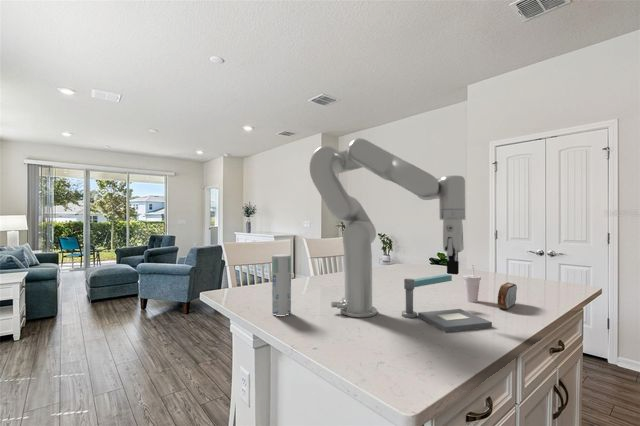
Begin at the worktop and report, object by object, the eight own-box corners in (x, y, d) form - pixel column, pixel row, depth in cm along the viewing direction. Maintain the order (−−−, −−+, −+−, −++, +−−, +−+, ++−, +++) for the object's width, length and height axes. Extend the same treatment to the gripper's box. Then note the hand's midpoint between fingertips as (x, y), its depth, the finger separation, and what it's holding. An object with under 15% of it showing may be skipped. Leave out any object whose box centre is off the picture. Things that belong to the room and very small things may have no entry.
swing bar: (409, 290, 102) (409, 281, 102) (402, 288, 105) (402, 279, 105) (452, 282, 114) (452, 274, 114) (445, 280, 117) (444, 272, 117)
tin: (509, 302, 120) (508, 280, 120) (518, 303, 118) (518, 281, 118) (496, 310, 110) (496, 286, 110) (506, 312, 108) (506, 287, 108)
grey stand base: (431, 333, 88) (431, 302, 88) (399, 314, 106) (398, 287, 106) (491, 327, 93) (491, 297, 93) (451, 309, 111) (451, 284, 111)
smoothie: (484, 303, 119) (484, 266, 119) (467, 303, 119) (467, 266, 119) (476, 298, 125) (476, 263, 125) (460, 298, 125) (459, 263, 125)
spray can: (293, 315, 104) (292, 255, 105) (273, 317, 103) (273, 256, 103) (289, 310, 111) (289, 253, 111) (270, 312, 109) (270, 254, 109)
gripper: (462, 215, 90) (463, 279, 90) (467, 215, 103) (468, 271, 103) (435, 215, 94) (435, 276, 94) (443, 215, 107) (444, 269, 106)
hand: (452, 273), depth 98 cm, fingers closed
